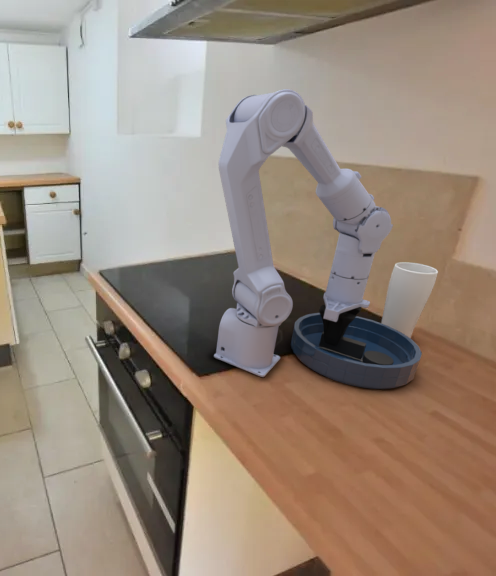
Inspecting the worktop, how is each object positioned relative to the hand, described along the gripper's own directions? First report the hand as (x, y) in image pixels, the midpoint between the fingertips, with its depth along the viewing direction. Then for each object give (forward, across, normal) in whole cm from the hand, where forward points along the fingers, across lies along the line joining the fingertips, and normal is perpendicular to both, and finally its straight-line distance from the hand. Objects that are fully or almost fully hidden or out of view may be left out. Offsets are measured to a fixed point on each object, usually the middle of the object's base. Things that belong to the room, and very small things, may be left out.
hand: (332, 341), depth 71 cm
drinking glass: (+3, +16, -8) cm, 18 cm away
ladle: (+1, 0, -4) cm, 4 cm away
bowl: (+2, 0, -3) cm, 4 cm away
